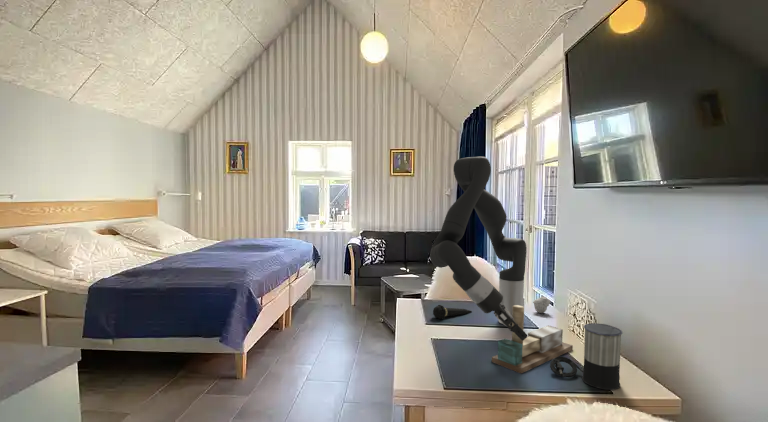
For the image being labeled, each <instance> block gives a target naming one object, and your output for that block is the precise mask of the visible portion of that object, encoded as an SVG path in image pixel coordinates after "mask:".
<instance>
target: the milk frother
mask: <svg viewBox="0 0 768 422" xmlns="http://www.w3.org/2000/svg"><path fill="white" fill-rule="evenodd" d="M583 329H584V347H583V348H584V351H583V352H584V353H583V354H584V355H583V358H584V359H583V369H581V367H579V365H578V364H577V363H576V362H574V361H573V360H571V359H570V358H568V357H565V356H558V357H556V358H554V359H552V360H550V364H549V368H550V370H551V371H552V373H554V374H555V375H557V376H559V377H562V378H573V377H575V376H576V375H577V373H578V370H580V372H582V375H581V379H582V381H583V382H584V383H585V384H587V385H588V386H591V387H594V388H596V389H600V390H601V389H602V390H608V391H611V390H612V391H613V390H618V389H620V387H621V383H620V380H621V377H620V367H621V365H620V364H621V348H622V347H621V345H622V334H623V333H624V332H623V331H622V329H620V328H618V327H617V326H613V325H609V324H605V323H597V322H596V323H595V322H592V323H586V324H584V325H583ZM561 362H562V363H565V364H567V365H569V366H570V367H571V368H572V370H571V371H570V372H564V370H565V367H563V366H562V364H561Z"/></svg>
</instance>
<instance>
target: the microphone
mask: <svg viewBox="0 0 768 422" xmlns="http://www.w3.org/2000/svg"><path fill="white" fill-rule="evenodd" d="M472 312H473V311H472V310H471V309H466V308H458V307H457V308H455V307H444V305H442V304H438V305H436V306H435V307H434V308H433V310H432V315H433V316H434V317H435V318H436V319H439V320H443V319H445V317H450V318H451V317H454V316H461V315H466V314H470V313H472Z"/></svg>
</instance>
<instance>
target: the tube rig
mask: <svg viewBox="0 0 768 422" xmlns="http://www.w3.org/2000/svg"><path fill="white" fill-rule="evenodd" d="M563 332H564V329H562V328H559V327H556V326H552V325H546V326H543V327H540V328H538V329H534V330H532V331H529V332H527V337H529V336H531V335H532V336H535V337H539V338H541V349H540V350H538V351H536V352H533V353H531V354H528V355H526V356H524V357H522V344H520V343H517V342H514V341H512V339H508V338H502V339H499V340H497V354H496V355H493V356H491V363H493V364H495V365H499V366H501V367H504V368H506V369H509V370H511V371H514V372H516V373H518V374H523V373H526V372H527V371H531V370H532V369H534V368H537V367H538V366H540V365H543V364H545V363H547V362H549V361H552V360H553V359H554V358H556V357H561V356H562V355H564V354H567V353H569V352H571V351H573V350H574V348H573V347H574V346H573V344H570V343H566V342H563Z"/></svg>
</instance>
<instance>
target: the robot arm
mask: <svg viewBox="0 0 768 422" xmlns="http://www.w3.org/2000/svg"><path fill="white" fill-rule="evenodd" d="M491 172H492V167H491V162H490V161H489V159H488V158H487V157H485V156H470V157H462V158H458V159H457V160H456V161H455V162H454V164H453V175H454V178H455V180H456V182H457V184H458V186H460V188H461V190H462V191H463V193H462V195H461V196H459V197H458V199H457V200H455V202H453V204H452V205H451V206H450V207H449V208H448V210H447V213H446V214H445V218H444V221H443V223H442V227H441V229H440V230H439V234H437V237H436V238H435V239H434V242H433V245H432V246H431V249H430V252H429V259H430V262H431V264H432V265H433V266H434V267H436V268H441V269H442V268H446V267H449V269H450V270H451V271H452V273H453V274H452V279H453V281H454V282H455V283H456V285H458V286H459V287H460V288H461V289H462V290H463V292H465V294H466V296H468V297H469V299H470V300H471V301H472V302H474V304H475V306H477V307H478V308H479V309H480V310H481V311H482V312H483V313H484V314H491V312H493V314H494V317H495V318H496V319H498V323H500V324H502V325H504V326H505V327H507V328H508V329H509V331H510V333H512V332H514V333H515V334H516V335H517V336H518V337H519V338H520V339H521V340H524V339H526V338H527V337H528V333H526V331H524V329H523V330H522V329H521V328H520V327H519V325H518V324H517V323H516V322H515V321H514V320H515V319H514V317H513V316H512V312H513V306H514V305H519V306H523V307H524V308H525V298H524V296H525V295H524V291H525V288H524V287H525V274H526V273H525V272H526V263H527V249H528V248H527V247H528V246H527V243H526V241H525V240H524V239H523V238H519V237H517V238H516V237H506V236H505V235H504V233H503V229H504V227H505V225H506V223H507V218H508V217H507V213H506V210H505V209H504V207H503V204H502V202H501V201H500V200H499V199H498V198H497V196H495V195H493V194H492V193H491V192H489V191H488V190H486V189H485V188H486V186H487V185H488V182H489V180H490V178H491V174H492V173H491ZM473 210H474V211H475V212H476V214H477V217H478V218H479V220H480V223H481V224H482V226H483V228H484V230H485V232H486V233H487V235H488V238H489V240H490V243H491V245H492V248H493V250H494V254H495V255H496V257H497V258H498V259H499V260H501V261H503V262H511V263H512V265H511V267H510V268H506V269H502V270H500V271H499V275H498V276H499V277H498V279H499V280H498V289H497V288H496V287H495V286H494V284H492V283H491V282H490V281H489V280H488V279H487V278H486V277H484V275H482V274H481V273H480V272H479V270H477V269H476V268H475V267H474V266H473V265H472V264H471V262H470V259H469V258H468V257H467V255H466V253H465V252H464V251H463V249H462V248H461V247H460V246H459V245H458V243H459V242H460V240H462V239H463V236H464V235H465V232H466V229H467V225H468V223H469V220H470V217H471V214H472V212H473ZM512 322H513V323H514V324H515V325H514V326H512Z"/></svg>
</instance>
